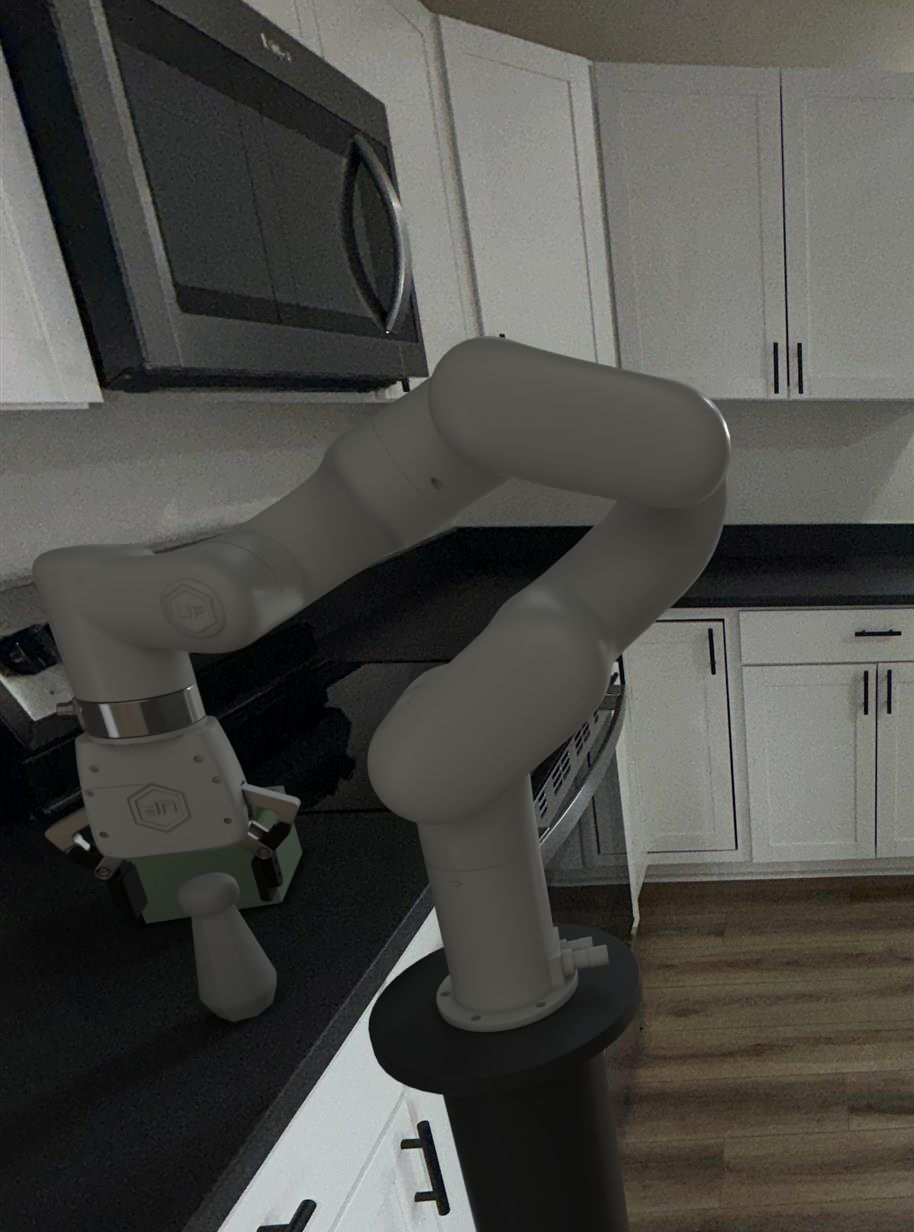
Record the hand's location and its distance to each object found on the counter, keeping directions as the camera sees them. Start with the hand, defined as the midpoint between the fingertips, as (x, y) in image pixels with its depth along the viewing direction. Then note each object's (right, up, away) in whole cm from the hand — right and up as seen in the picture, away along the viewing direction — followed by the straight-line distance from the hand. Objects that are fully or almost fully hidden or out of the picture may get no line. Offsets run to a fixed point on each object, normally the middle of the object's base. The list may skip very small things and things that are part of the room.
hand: (205, 903), depth 78 cm
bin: (-15, -1, +25) cm, 29 cm away
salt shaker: (0, -10, +5) cm, 11 cm away
